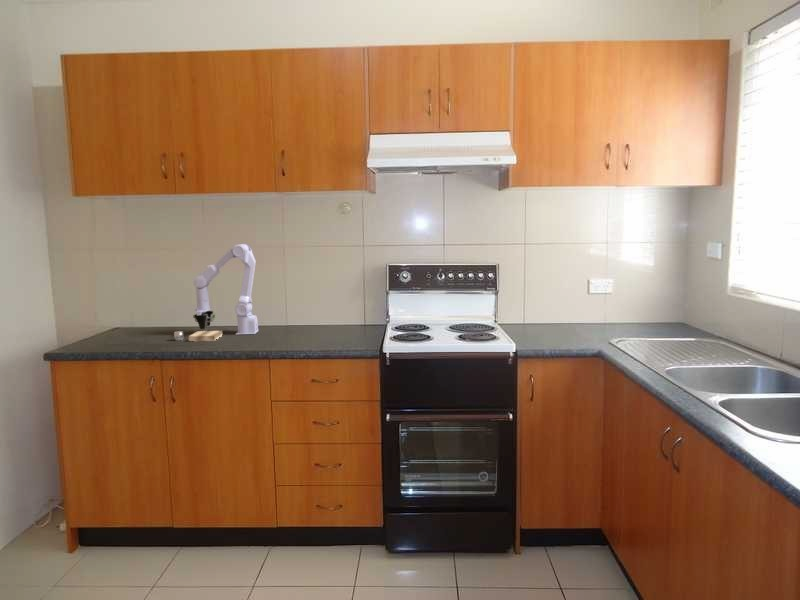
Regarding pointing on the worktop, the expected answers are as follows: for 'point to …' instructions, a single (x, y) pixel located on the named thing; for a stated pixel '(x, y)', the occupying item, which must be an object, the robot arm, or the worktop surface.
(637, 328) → the worktop surface
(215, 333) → the stand
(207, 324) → the mechanical component
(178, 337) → the steel bushing
